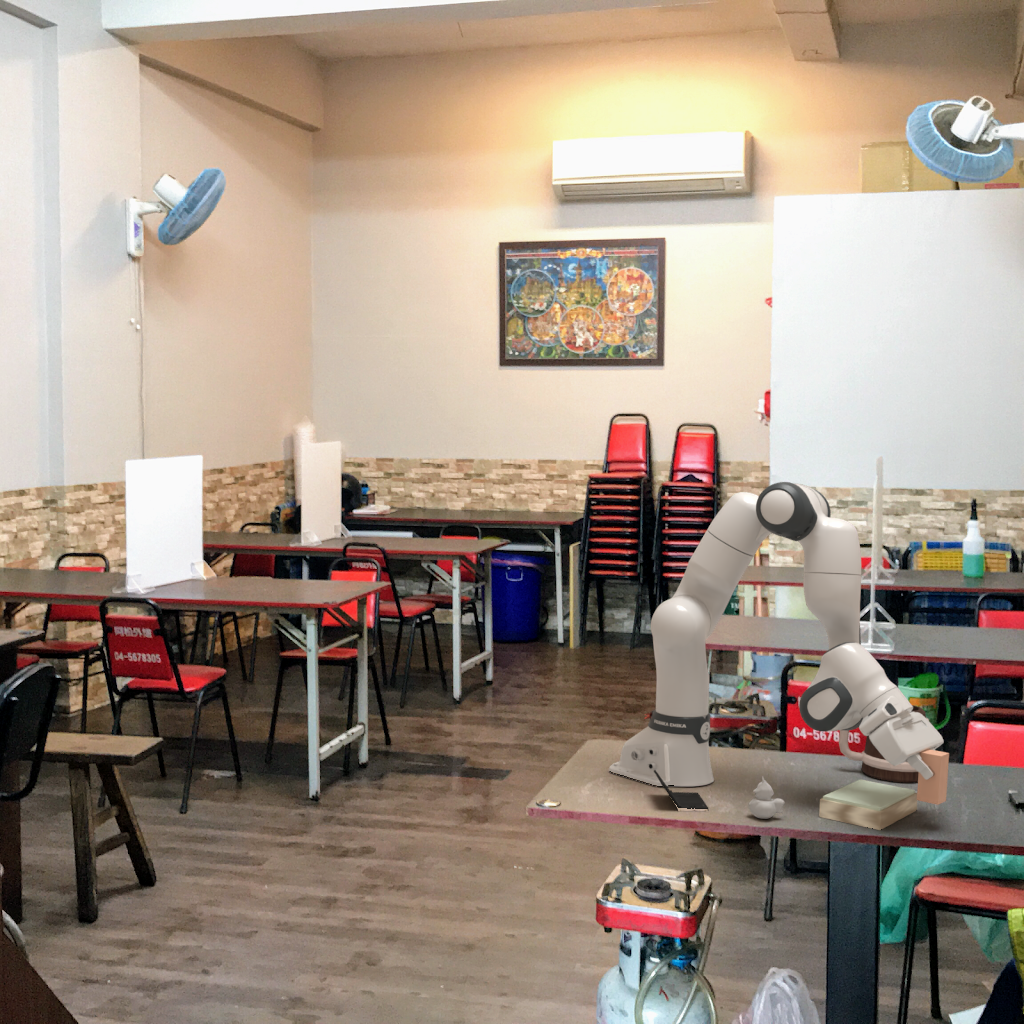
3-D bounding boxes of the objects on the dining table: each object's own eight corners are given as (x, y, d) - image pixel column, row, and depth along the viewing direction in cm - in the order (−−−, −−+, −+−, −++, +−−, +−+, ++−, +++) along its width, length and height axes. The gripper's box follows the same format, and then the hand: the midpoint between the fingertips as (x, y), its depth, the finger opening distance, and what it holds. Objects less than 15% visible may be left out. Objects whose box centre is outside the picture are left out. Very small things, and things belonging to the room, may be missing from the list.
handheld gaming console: (719, 803, 230) (687, 762, 229) (691, 827, 228) (659, 786, 228) (698, 795, 241) (668, 756, 241) (671, 818, 239) (642, 779, 239)
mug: (925, 769, 268) (928, 702, 267) (938, 786, 253) (941, 716, 252) (833, 763, 271) (836, 697, 270) (841, 780, 256) (844, 710, 255)
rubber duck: (748, 812, 229) (749, 771, 229) (783, 815, 228) (784, 774, 228) (748, 820, 224) (749, 778, 223) (784, 823, 223) (785, 781, 222)
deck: (819, 816, 228) (820, 796, 227) (858, 798, 241) (859, 778, 241) (880, 830, 220) (880, 808, 220) (916, 810, 234) (917, 790, 234)
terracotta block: (916, 800, 222) (919, 752, 222) (924, 796, 225) (927, 749, 225) (938, 804, 220) (941, 756, 219) (946, 801, 223) (949, 753, 222)
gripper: (898, 716, 237) (943, 775, 231) (854, 730, 221) (903, 793, 216) (921, 698, 234) (968, 757, 228) (879, 710, 218) (929, 774, 213)
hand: (936, 775), depth 222 cm, fingers closed on terracotta block, 4 cm apart
